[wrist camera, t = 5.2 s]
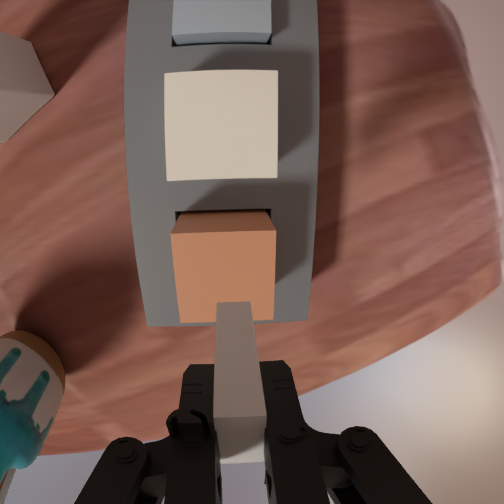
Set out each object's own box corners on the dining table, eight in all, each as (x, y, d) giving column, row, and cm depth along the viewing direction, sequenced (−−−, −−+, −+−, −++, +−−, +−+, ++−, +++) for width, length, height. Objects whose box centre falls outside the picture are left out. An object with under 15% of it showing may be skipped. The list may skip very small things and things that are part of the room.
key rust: (188, 282, 25) (180, 322, 20) (182, 209, 23) (170, 233, 18) (262, 279, 26) (273, 319, 20) (263, 206, 24) (276, 230, 18)
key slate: (182, 55, 21) (171, 35, 15) (185, -7, 18) (176, -39, 13) (260, 54, 21) (271, 33, 16) (260, -9, 19) (270, -41, 14)
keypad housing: (157, 296, 29) (147, 326, 24) (148, -24, 18) (135, -50, 13) (295, 291, 30) (307, 320, 25) (298, -27, 19) (312, -52, 14)
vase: (89, 385, 33) (44, 516, 15) (28, 381, 32) (-25, 488, 15) (55, 313, 29) (-31, 450, 11) (-7, 316, 28) (-88, 421, 11)
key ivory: (180, 168, 22) (166, 181, 17) (178, 87, 20) (164, 73, 14) (263, 166, 22) (277, 177, 17) (264, 85, 20) (277, 70, 15)
